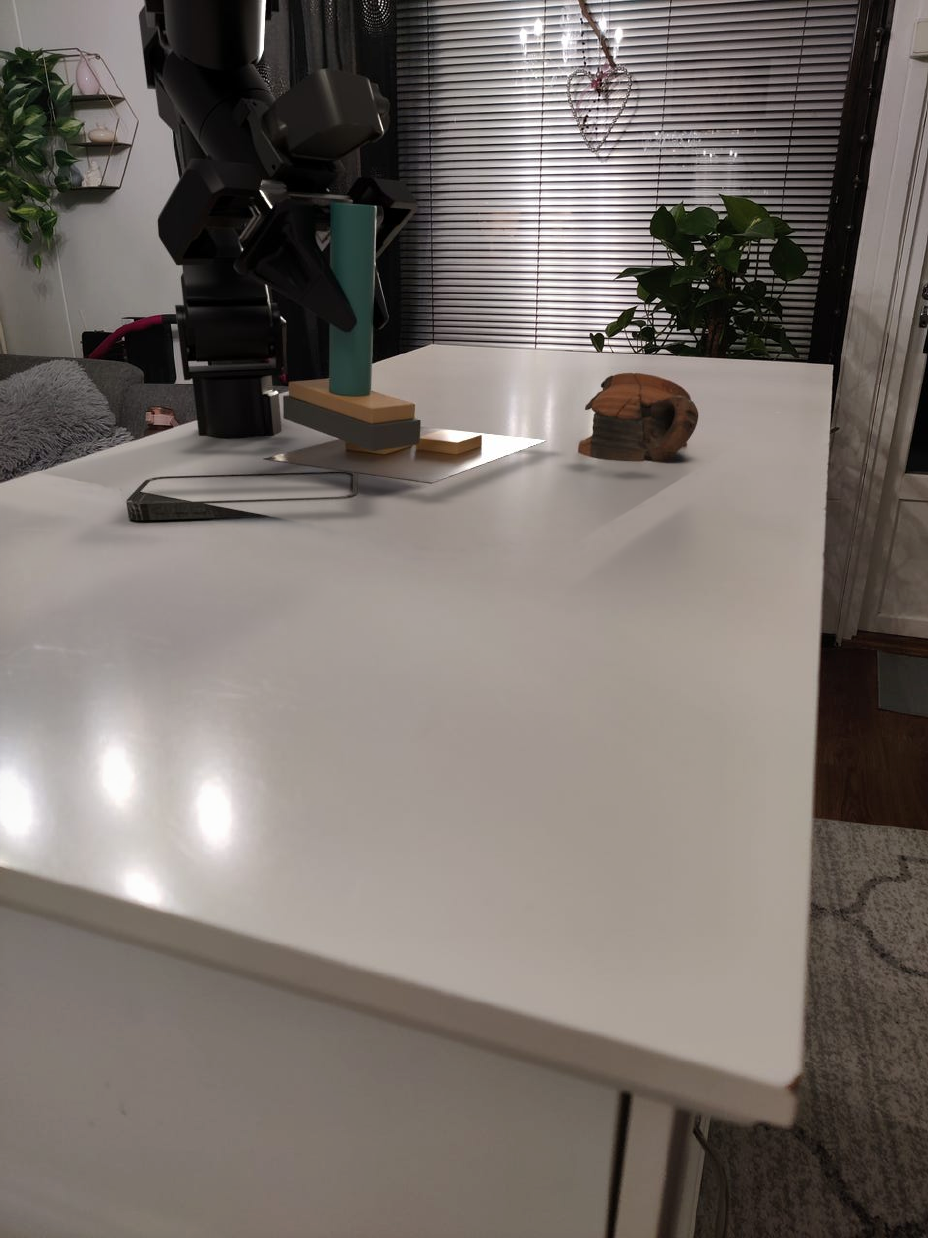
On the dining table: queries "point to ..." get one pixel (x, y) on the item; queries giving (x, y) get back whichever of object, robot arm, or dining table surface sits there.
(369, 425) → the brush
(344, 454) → the tray
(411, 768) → the dining table surface
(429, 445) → the tan flat wooden slab
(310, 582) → the dining table surface
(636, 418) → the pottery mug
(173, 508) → the black flat open frame
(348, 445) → the flat wooden block
